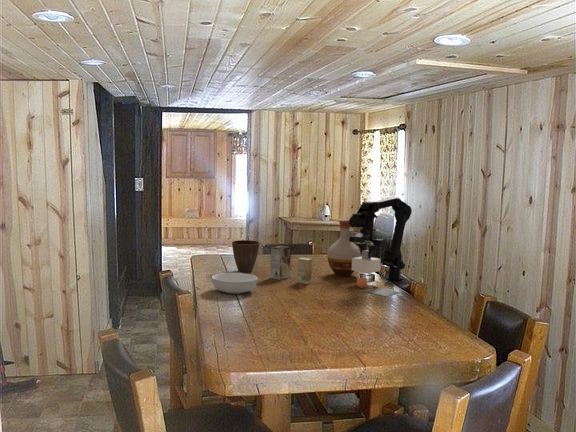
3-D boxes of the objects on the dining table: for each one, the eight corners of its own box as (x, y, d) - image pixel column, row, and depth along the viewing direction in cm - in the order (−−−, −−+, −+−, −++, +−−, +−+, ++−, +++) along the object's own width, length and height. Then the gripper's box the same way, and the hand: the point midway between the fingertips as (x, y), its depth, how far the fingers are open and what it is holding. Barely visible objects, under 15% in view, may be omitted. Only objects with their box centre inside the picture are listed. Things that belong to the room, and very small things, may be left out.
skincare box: (296, 282, 269) (297, 258, 268) (300, 281, 273) (301, 257, 272) (308, 284, 266) (308, 259, 265) (311, 282, 270) (312, 258, 269)
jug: (362, 272, 299) (364, 218, 296) (363, 279, 281) (366, 222, 278) (326, 271, 301) (328, 217, 298) (325, 277, 283) (328, 220, 280)
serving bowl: (250, 298, 235) (250, 283, 234) (204, 295, 239) (204, 279, 238) (262, 288, 255) (262, 274, 254) (219, 285, 259) (220, 271, 258)
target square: (379, 288, 262) (379, 287, 262) (400, 292, 254) (400, 292, 254) (364, 291, 254) (364, 291, 253) (385, 296, 245) (385, 296, 245)
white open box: (363, 267, 278) (364, 248, 277) (380, 270, 271) (381, 251, 270) (351, 270, 271) (352, 250, 270) (368, 273, 264) (369, 252, 263)
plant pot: (257, 274, 285) (258, 244, 284) (229, 273, 286) (230, 243, 284) (259, 269, 300) (260, 240, 299) (233, 268, 301) (233, 239, 299)
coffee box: (280, 275, 285) (281, 245, 284) (290, 277, 282) (291, 246, 280) (269, 278, 278) (270, 247, 277) (279, 279, 274) (280, 248, 273)
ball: (360, 286, 265) (361, 276, 265) (368, 287, 262) (369, 277, 262) (354, 287, 262) (354, 277, 261) (362, 289, 258) (363, 279, 258)
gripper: (343, 225, 269) (341, 256, 271) (374, 229, 257) (373, 262, 258) (356, 224, 277) (354, 254, 279) (387, 228, 265) (385, 259, 266)
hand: (366, 257), depth 270 cm, fingers closed on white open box, 3 cm apart
